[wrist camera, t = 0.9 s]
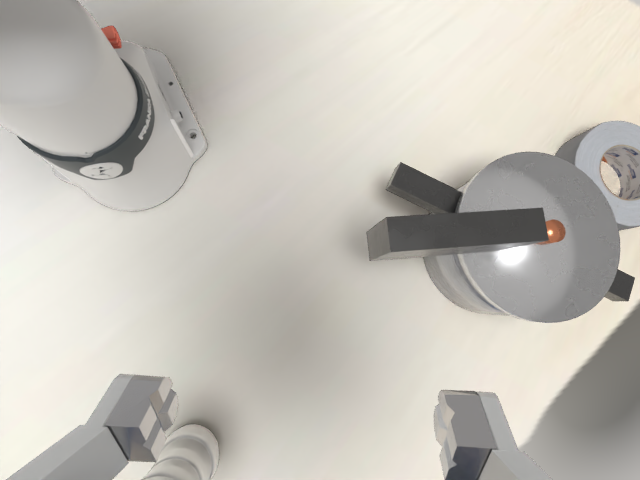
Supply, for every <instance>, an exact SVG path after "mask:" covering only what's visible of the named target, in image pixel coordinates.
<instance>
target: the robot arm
mask: <svg viewBox="0 0 640 480" xmlns="http://www.w3.org/2000/svg"><path fill="white" fill-rule="evenodd" d="M0 126H2V127H4V128H5V129H7V130H9V131H10V132H12V133H14V134H15V135H17V137H18V138H19V139H20V140H21V141H22V142H23V143H24V144H25V145H26V146H27V147H28V148H29V149H31V150H33V152H34V153H35V154H37V155H38V156H40V157H41V158H42V159H43V160H45V161H46V162H47V163H48V164H50V165H51V166H52V167H53V172H54V174H55V175H56V176H57V177H58V178H59V179H61V180H63V181H65V182H67V183H70V184H72V185H76V186H79V187H80V188H82V189H83V190H84V191H85V192H86V193H87V194H88V195H89V196H91V197H92V198H93V199H94V200H96V201H97V202H99V203H100V204H102V205H104V206H106V207H109V208H112V209H116V210H121V211H140V210H145V209H149V208H152V207H155V206H157V205H159V204H161V203H163V202H165V201H166V200H168V199H169V198H170V197H172V196H173V195H174V194H175V193H176V192H177V191H178V190H179V188H180V187H181V186H182V184H183V183H184V181H185V179H186V177H187V175H188V173H189V170H190V168H191V166H192V165H193V163H194V162H195V161H196V160H197V159H198V158H200V157H201V156H202V155H203V153H204V152H205V151H206V149H207V142H206V139H205V137H204V135H203V133H202V131H201V129H200V127H199V124H198V122H197V120H196V118H195V116H194V114H193V112H192V109H191V107H190V105H189V103H188V101H187V99H186V97H185V95H184V92H183V90H182V88H181V86H180V84H179V82H178V80H177V77H176V75H175V73H174V71H173V69H172V67H171V65H170V63H169V61H168V59H167V57H166V56H165V54H163V53H162V52H160V51H157V50H154V49H150V48H144V47H141V46H139V45H138V44H135V43H133V42H130V41H124V40H120V37H119V34H118V32H117V30H116V29H115V27H114V26H108V27H105V28H102V29H101V28H100V27H99V25H98V24H97V22H96V21H95V19H94V18H93V16H92V15H91V14H90V13H89V12H88V11H87V10H86V9H85V8H84V7H83V6H82V5H81V4H80V3H79V2H78V1H77V0H0ZM192 135H196V138H194V139H192V138H191V136H192ZM172 384H173V383H172V381H171V379H170V377H160V376H143V375H129V374H119V375H118V376H117V377H116V378H115V379H114V380H113V382H112V383H111V385H110V386H109V388H108V390H107V391H106V393H105V394H104V396H103V397H102V399H101V401H100V402H99V404H98V405H97V407H96V408H95V410H94V412H93V413H92V415H91V416H90V418H89V420H88V421H87V423H86V424H85V425H80V426H78V427H77V428H75V429H74V430H73V431H71V432H70V433H69V434H67V435H66V436H65V437H63V438H62V439H61V440H59V441H58V442H56V443H55V444H54V445H52V446H51V447H50V448H48V449H47V450H46V451H44V452H43V453H41V454H40V455H39V456H37V457H36V458H35V459H33V460H32V461H31V462H29V463H28V464H26V465H25V466H24V467H22V468H21V469H20V470H18V471H17V472H16V473H14V474H13V475H12V476H10V477H9V478H7V479H6V480H112V479H113V478H114V477H115V476H116V475H117V474H118V473H119V472H120V471H121V470H122V469H123V468H124V467H125V466H126V465H127V464H128V463H129V462H128V461H141V462H157V460H158V458H159V455H160V453H161V451H162V448H163V446H164V444H165V441H166V436H165V431H166V430H167V429H168V428H169V427H170V426H171V425H173V422H174V420H175V417H176V414H177V409H178V397H177V394H176V392H174V391H173V390H172V389H171V387H172ZM438 400H439V404H438V405H437V406H435V411H434V429H435V435H436V440H437V441H438V442H439V443H440V445H441V446H442V449H441V453H440V460H441V465H442V470H443V475H444V479H445V480H552V479H551V478H550V477H549V476H548V475H547V474H546V473H545V472H544V471H543V470H542V469H541V468H540V467H539V466H538V465H537V464H536V463H535V462H534V461H533V460H532V459H531V458H530V457H529V456H528V455H527V454H526V453H525V452H524V451H519V450H518V448H517V445H516V443H515V440H514V437H513V435H512V432H511V430H510V427H509V425H508V422H507V419H506V417H505V414H504V412H503V409H502V406H501V404H500V401H499V399H498V396H497V395H496V394H495V393H493V392H475V391H454V390H441V391H440V392H439V395H438Z"/></svg>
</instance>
